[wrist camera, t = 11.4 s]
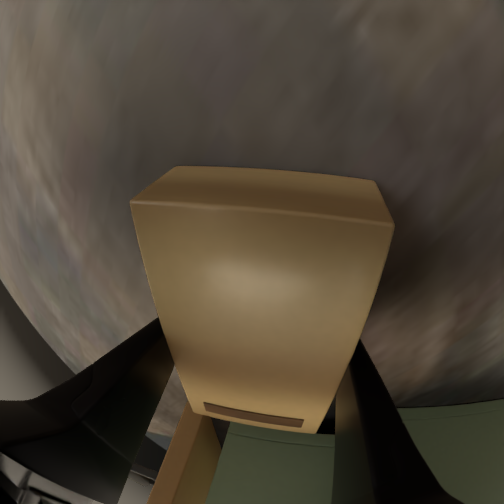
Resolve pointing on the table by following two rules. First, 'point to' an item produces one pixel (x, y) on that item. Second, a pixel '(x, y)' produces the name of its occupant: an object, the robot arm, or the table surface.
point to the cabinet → (462, 448)
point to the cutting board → (262, 285)
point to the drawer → (240, 466)
